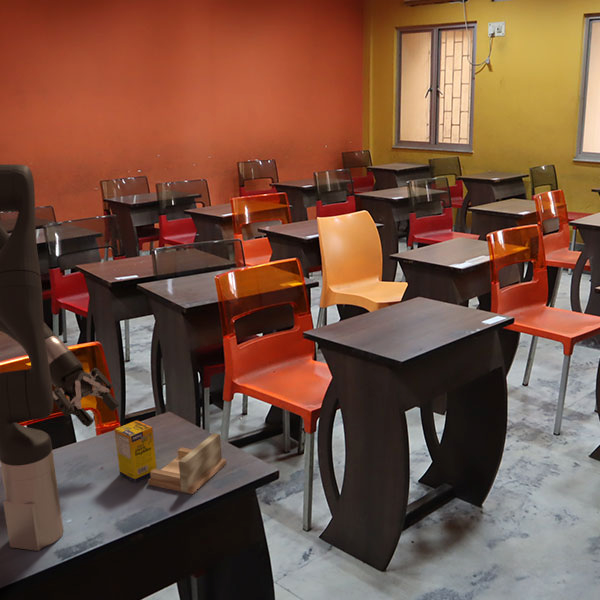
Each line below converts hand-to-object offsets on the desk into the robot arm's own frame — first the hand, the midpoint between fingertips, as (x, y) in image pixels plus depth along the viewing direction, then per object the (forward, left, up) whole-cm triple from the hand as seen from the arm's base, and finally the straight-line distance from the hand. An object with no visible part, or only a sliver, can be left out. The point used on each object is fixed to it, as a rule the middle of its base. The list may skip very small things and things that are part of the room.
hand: (103, 416), depth 166 cm
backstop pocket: (+1, -18, -12) cm, 22 cm away
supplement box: (-1, -8, -13) cm, 15 cm away
